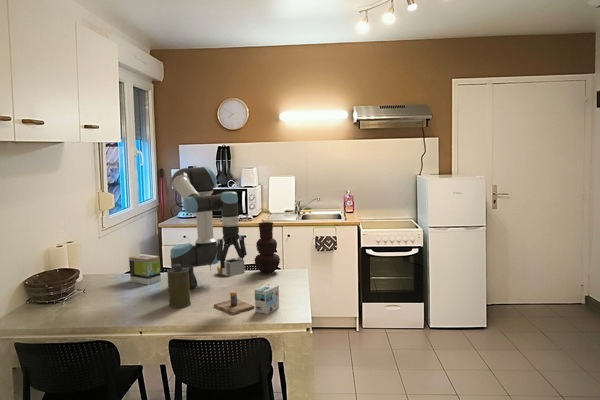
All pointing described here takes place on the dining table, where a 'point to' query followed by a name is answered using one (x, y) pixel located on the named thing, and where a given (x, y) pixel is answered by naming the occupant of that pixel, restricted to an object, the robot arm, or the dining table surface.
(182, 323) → the dining table surface
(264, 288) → the light bulb box
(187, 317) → the dining table surface
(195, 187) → the robot arm
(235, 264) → the grey hollow block
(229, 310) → the wooden base with peg
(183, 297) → the canister
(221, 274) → the pastry
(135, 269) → the tea box
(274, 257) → the vase
